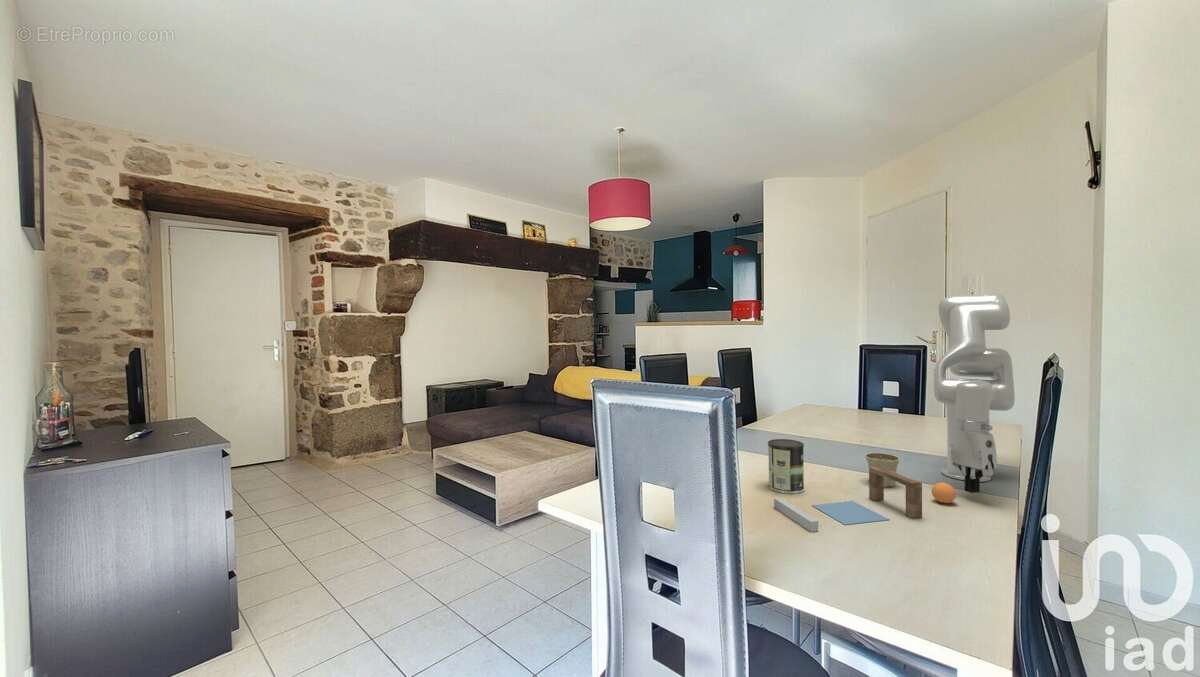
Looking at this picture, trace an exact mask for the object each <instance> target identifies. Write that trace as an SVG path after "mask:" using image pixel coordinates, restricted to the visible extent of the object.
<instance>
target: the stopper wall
mask: <svg viewBox="0 0 1200 677" xmlns="http://www.w3.org/2000/svg"><path fill="white" fill-rule="evenodd" d="M773 508H775V509H776V510H778V512H780V513H782V514H783V515H784V516H787V517H788V518H790V519H791V520H792V521H794V522H795V523H797V524H798V525H800V526H801V527H803V528H805V529H806V530H808V532H810V533H813V532H819V520H817V519H816V518H814V517H812V516H811V515H809V514H807V513H806V512H805V511H803V510H801V509H800V508H799V507H797V506H795V505H793V504H791V503H790V502H789V501H787V500H785V499H784V498H782V497H774V498H773Z"/></svg>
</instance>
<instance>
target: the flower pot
mask: <svg viewBox="0 0 1200 677" xmlns="http://www.w3.org/2000/svg"><path fill="white" fill-rule="evenodd" d="M864 457H865V459H866V462H867V464H868V468H869V467H874V466H879V467H882V468H884V469H887V470H890V471H893V472H895V473H897V470H898V469H897V468H898V465H899V462H900V461H901V458H900V456H898V455H894V454H889V453H883V452H868V453H865V454H864ZM895 483H896V482H895V481H893V480H890V479H888V478H885V477H884V488H888V487H894V486H895Z"/></svg>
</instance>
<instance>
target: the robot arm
mask: <svg viewBox="0 0 1200 677" xmlns="http://www.w3.org/2000/svg"><path fill="white" fill-rule="evenodd" d="M938 316H939V319H940V323H941V325H942V327H943V330H944V331H945V333H946V336H947V340H948V342H947V343H948V351H946V352H945V353H944V354H943V355H942V356H941V357H940V358H939V360H938V361H937V363H936V364H935V367H934V371H933V393H934V394H933V395H934V398H935V399H936V401H937V402H939V403H941V404H944V405H945V406H946V416H947V417H946V420H947V425H946V426H947V427H946V429H947V430H946V431H947V433H946V434H947V440H946V441H947V444H946V445H947V448H946V449H947V450H946V452H947V454H946V455H947V457H946V458H947V464H946V465H947V466H945V467H943V468H941V473H942V475H944V476H946V477H948V478H951V479H956V480H961V481H964V491H965V492H967V493H970V494H975V493H980V491H981V490H980V488H981V487H980V486H981V485H980V483H983V482H990V481H991V479H992V476H993V475H994V471H993V470H996V469H997V468H998V466H997V465H998V459H997V458H998V457H997V456H998V455H997V448H996V443H995V442H996V441H995V437H994V434H993V433H991V432H992V431H993V426H992V425H990V411H997V412H998V411H999V412H1000V411H1001V412H1002V411H1003V412H1006V411H1010V410H1012V409H1013V407H1014V406H1015V400H1016V399H1015V398H1016V397H1015V385H1014V384H1015V383H1014V373H1013V372H1014V371H1013V370H1014V368H1013V362H1012V357H1011V355H1010V353H1009V352H1008V351H1007V350H1006V349H1004V348H1003V349H1002V348H998V347H997V348H996V347H990V348H989V347H987V343H986V331H997V330H998V331H1001V330H1002V331H1003V330H1005V329H1007V328H1008V327H1009V325H1010V322H1011V312H1010V308H1009V305H1008V302H1007V300H1006V298H1005V296H1003V295H1001V294H1000V293H984V294H983V293H982V294H981V293H980V294H958V295H950V296H946V297H943V298H942V299H941V300H940V301H939V303H938ZM948 368H949V370H950V373H951V374H952V375H955V376H958V377H965V378H946V376H945V374H946V371H947V370H948ZM966 377H967V378H966ZM980 378H990V379H980ZM990 431H991V432H990Z"/></svg>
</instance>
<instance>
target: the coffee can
mask: <svg viewBox="0 0 1200 677" xmlns="http://www.w3.org/2000/svg"><path fill="white" fill-rule="evenodd" d="M767 445H768V448H767V449H768V488H769V489H770V490H772V491H774V492H777V493H780V492H781V494H789V495H790V494H792V495H794V494H795V495H796V494H801V493H803V492H804V491H805V477H804V476H805V475H804V474H805V473H804V466H805V465H804V458H805V457H804V456H805V455H804V447H805V444H804V443H803V442H802V441H799V440H795V439H794V440H793V439H789V438H787V439H786V438H776V439H774V438H773V439H770V440H768V441H767Z"/></svg>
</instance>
